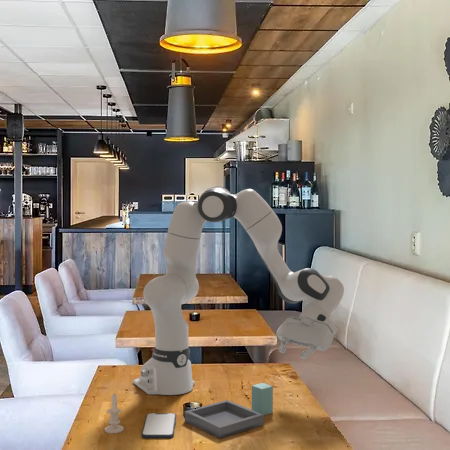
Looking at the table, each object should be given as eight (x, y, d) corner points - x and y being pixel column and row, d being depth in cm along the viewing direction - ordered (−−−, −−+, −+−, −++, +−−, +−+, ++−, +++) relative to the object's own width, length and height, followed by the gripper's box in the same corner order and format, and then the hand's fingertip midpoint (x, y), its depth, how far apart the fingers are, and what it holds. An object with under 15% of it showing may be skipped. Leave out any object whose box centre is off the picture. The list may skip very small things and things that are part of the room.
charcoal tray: (184, 421, 173) (184, 411, 173) (227, 409, 183) (227, 399, 183) (219, 438, 161) (219, 427, 160) (263, 425, 171) (263, 414, 171)
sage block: (251, 411, 182) (251, 385, 181) (262, 408, 185) (262, 382, 184) (261, 415, 178) (262, 389, 178) (272, 412, 181) (273, 386, 181)
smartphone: (173, 441, 161) (176, 418, 177) (173, 435, 161) (176, 412, 176) (140, 441, 160) (146, 418, 176) (140, 435, 160) (146, 412, 176)
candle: (122, 425, 169) (122, 389, 169) (125, 432, 164) (125, 394, 164) (103, 427, 168) (103, 390, 167) (105, 434, 163) (105, 396, 162)
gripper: (285, 309, 201) (263, 342, 195) (332, 319, 185) (310, 355, 179) (294, 321, 204) (273, 354, 198) (341, 331, 188) (320, 367, 182)
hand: (291, 354), depth 189 cm, fingers open, 8 cm apart
